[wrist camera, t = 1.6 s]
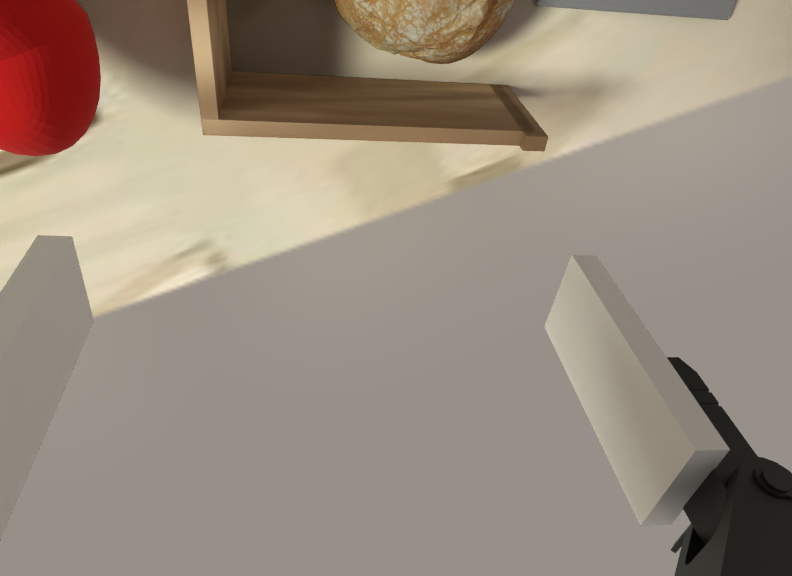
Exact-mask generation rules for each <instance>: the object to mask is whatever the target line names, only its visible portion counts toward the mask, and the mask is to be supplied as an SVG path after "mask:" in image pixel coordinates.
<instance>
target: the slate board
mask: <svg viewBox="0 0 792 576" xmlns="http://www.w3.org/2000/svg"><path fill="white" fill-rule="evenodd" d="M735 2H736V0H536V2H535V4H536V5H537V6H545V7H558V8H572V9H585V10H598V11H612V12H625V13H639V14H652V15H666V16H679V17H692V18H706V19H719V20H728V18H729V16H730V13H731V11H732V9H733V6H734V4H735Z"/></svg>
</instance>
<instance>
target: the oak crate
mask: <svg viewBox="0 0 792 576" xmlns="http://www.w3.org/2000/svg"><path fill="white" fill-rule="evenodd" d="M187 6H188V14H189V23H190V31H191V39H192V47H193V56H194V64H195V72H196V81H197V89H198V97H199V105H200V114H201V122H202V130H203V135H218V136H248V137H278V138H308V139H338V140H368V141H398V142H427V143H457V144H487V145H517V146H520V147H521V149H522V150H523V151H545V147H546V144H547V140H548V136H547V135H546V133H545V132H544V131H543V130H542V128H541V127H540V126H539V125H538V123H537V122H536V121H535V119H534V118H533V117H532V116H531V114H530V113H529V112H528V111H527V109H526V108H525V107H524V106H523V104H522V103H521V102H520V100H519V99H518V98H517V97H516V95H515V94H514V93H513V92H512V90H511V89H510V88H509V87H508V85H491V84H472V83H452V82H432V81H412V80H393V79H373V78H353V77H334V76H314V75H294V74H275V73H255V72H235V71H232V68H231V56H230V44H229V32H228V19H227V7H226V0H187Z"/></svg>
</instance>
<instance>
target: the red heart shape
mask: <svg viewBox="0 0 792 576" xmlns="http://www.w3.org/2000/svg"><path fill="white" fill-rule="evenodd" d="M100 81H101V76H100V63H99V55H98V50H97V45H96V41H95V36H94V33H93V30H92V26H91V23H90V20H89V17H88V14H87V13H86V12H85V11H84V10H83V8H82V7H81V6H80V5H79V4H78V2H77V1H76V0H0V149H1V150H4V151H8V152H11V153H14V154H19V155H29V156H42V155H50V154H56V153H59V152H61V151H63V150H65V149H67V148H69V147H71V146H73V145H74V144H75V143H76V142H77V141H78V140H79V139H80V138H81V137H82V136H83V135H84V134H85V133H86V131H87V130H88V128H89V126H90V124H91V122H92V120H93V119H94V116H95V112H96V109H97V105H98V101H99V95H100Z"/></svg>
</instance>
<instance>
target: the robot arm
mask: <svg viewBox="0 0 792 576" xmlns="http://www.w3.org/2000/svg"><path fill="white" fill-rule="evenodd" d="M93 322H94V320H93V316H92V312H91V308H90V304H89V300H88V297H87V293H86V289H85V285H84V281H83V277H82V273H81V269H80V265H79V261H78V257H77V254H76V250H75V246H74V242H73V238H72V237H70V236H42V235H38V236H37V237H36V239H35V240H34V242H33V243H32V245H31V247H30V248H29V250H28V251H27V253H26V254H25V256H24V257H23V259H22V260H21V262H20V263H19V265H18V266H17V268H16V269H15V271H14V272H13V274H12V276H11V277H10V279H9V280H8V282H7V283H6V285H5V286H4V288H3V289H2V291H1V292H0V540H1V537H2V535H3V533H4V530H5V528H6V526H7V523H8V521H9V519H10V516H11V514H12V511H13V509H14V507H15V505H16V502H17V500H18V498H19V495H20V493H21V491H22V488H23V486H24V484H25V481H26V479H27V477H28V474H29V472H30V470H31V467H32V465H33V463H34V460H35V458H36V455H37V453H38V451H39V449H40V446H41V444H42V441H43V439H44V437H45V434H46V432H47V430H48V427H49V425H50V423H51V420H52V418H53V415H54V413H55V411H56V409H57V406H58V404H59V401H60V399H61V397H62V395H63V392H64V390H65V388H66V385H67V383H68V381H69V378H70V376H71V373H72V371H73V369H74V366H75V364H76V362H77V359H78V357H79V354H80V352H81V350H82V348H83V345H84V343H85V341H86V338H87V336H88V334H89V331H90V329H91V326H92V324H93ZM545 329H546V331H547V333H548V335H549V337H550V339H551V341H552V343H553V346H554V347H555V350H556V352H557V354H558V356H559V358H560V360H561V362H562V364H563V366H564V368H565V370H566V373H567V375H568V377H569V378H570V381H571V383H572V385H573V387H574V389H575V391H576V393H577V395H578V397H579V399H580V401H581V403H582V405H583V408H584V409H585V412H586V414H587V416H588V418H589V420H590V422H591V424H592V426H593V428H594V430H595V433H596V435H597V437H598V439H599V440H600V443H601V445H602V447H603V449H604V451H605V453H606V455H607V457H608V459H609V461H610V464H611V466H612V468H613V470H614V472H615V474H616V476H617V478H618V480H619V482H620V484H621V486H622V488H623V490H624V493H625V495H626V497H627V499H628V501H629V503H630V505H631V507H632V509H633V511H634V513H635V515H636V517H637V519H638V521H639V524H640V526H650V525H666V524H667V525H668V524H672V523H673V521H674V520H675V519H676V518H677V517H678V515H679V514H680V513H681V511H682V510H683V509H684V511H685V512H686V515H687V516H688V518H689V520H690V522H691V524H690V526H689V527H688V528H687V529H686V530H685V532H684V533H683V534H682V535H681V536H680V538H679V539H678V540H677V541H676V543H675V544H674V546H673V547H672V549H671V551H673V552H675V553H676V552H677V551H678V550H679V548H680V547H681V546H682V548H681V552H680V556H679V560H678V564H677V568H676V572H675V576H792V473H791V472H790V471H789V470H787V469H786V468H784V467H782V466H781V465H779V464H778V463H776V462H773V461H771V460H768V459H765V458H760V457H758V456H757V455H756V454H755V452H754V451H753V450H752V448H751V447H750V445H749V444H748V443H747V441H746V440H745V439H744V437H743V436H742V434H741V433H740V432H739V430H738V429H737V428H736V426H735V425H734V423H733V422H732V421H731V419H730V418H729V416H728V415H727V414H726V413H725V411H724V410H723V408H722V407H721V406H719V405H718V401H717V400H716V398H715V397H714V396H713V394H712V393H709V389H708V387H707V386H706V385H705V384H704V382H703V380H702V379H701V378H700V376H699V375H698V374H697V372H696V371H694V370H693V369H692V368H691V367H689V366H688V365H687V364H686V363H684V362H683V361H682V360H681V359H680V358H678V357H675V358H674V357H673V358H671V357H666V356H665V354H664V353H663V351H662V350H661V348H660V347H659V346H658V344H657V343H656V341H655V340H654V339H653V337H652V335H651V334H650V333H649V331H648V329H647V328H646V327H645V325H644V324H643V322H642V321H641V319H640V318H639V316H638V315H637V314H636V312H635V311H634V309H633V308H632V306H631V305H630V303H629V302H628V300H627V299H626V298H625V296H624V295H623V293H622V292H621V290H620V289H619V287H618V286H617V284H616V283H615V282H614V280H613V279H612V277H611V276H610V274H609V273H608V271H607V270H606V268H605V267H604V265H603V264H602V263H601V261H600V260H599V258H598V257H597V256H589V255H572V256H571V259H570V262H569V264H568V267H567V269H566V272H565V275H564V277H563V280H562V282H561V285H560V288H559V290H558V293H557V295H556V298H555V301H554V303H553V306H552V309H551V311H550V314H549V316H548V319H547V322H546V324H545Z"/></svg>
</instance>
